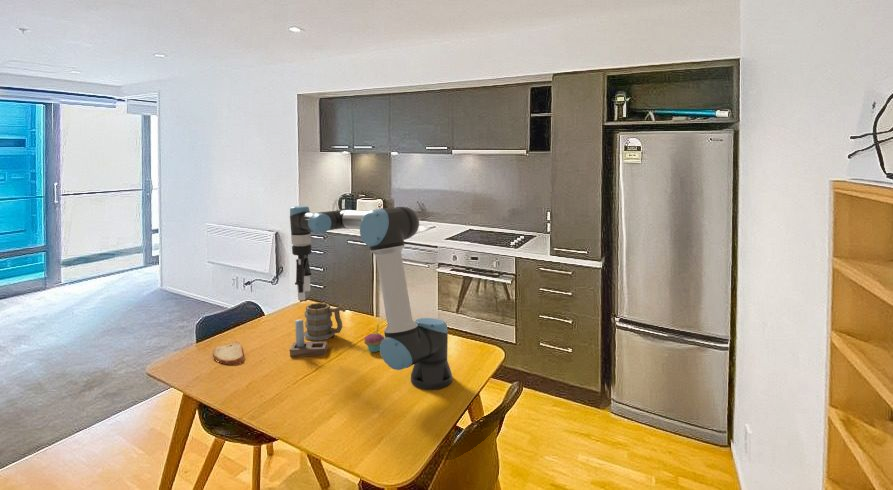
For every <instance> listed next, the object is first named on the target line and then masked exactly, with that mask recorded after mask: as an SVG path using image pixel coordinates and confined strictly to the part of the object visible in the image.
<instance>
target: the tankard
mask: <svg viewBox="0 0 893 490" xmlns="http://www.w3.org/2000/svg"><path fill="white" fill-rule="evenodd" d="M346 311H347V308H346V307H344V306H343V305H340V306H338V307H331V305H330V304H329V303H326V302H316V303H315V302H314V303H309V304H308V305H307V306H305V311H304V317H305V319H306V321H305V322H304V326H305V328H306V331H304V338H305V339H306V340H309V341H314V342H320V341H323V340H329V339H330V338H332V337H333V336H335V334H340V333H341V332H342V329H343V321H342V318H341V313H340V312H342V313H345V312H346ZM333 313H334V319H335V321H336V326H337V327H336V328H333V320H332V316H333Z"/></svg>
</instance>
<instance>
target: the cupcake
mask: <svg viewBox="0 0 893 490" xmlns="http://www.w3.org/2000/svg"><path fill="white" fill-rule="evenodd" d="M384 338H385V336H384V335H382V334H381V333H379V322H378V323H377V325H376V332H375V333H373V332H372V333H369V334H367V335H366V336H365V337H364V340H363V341H364V344H365V345H366V346H367V348H368V351H369V352H372V353H377V352H380V344H381V341H382V340H383V339H384Z"/></svg>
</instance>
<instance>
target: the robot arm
mask: <svg viewBox="0 0 893 490" xmlns="http://www.w3.org/2000/svg"><path fill="white" fill-rule="evenodd" d="M289 223H290V232H291V233H290V239H291V240H290V243H291V244H292V245H291V252H292V255H294V256H297V258H295V259H296V260H295V261H296V274H295V282H294V285H296V286H297V287H296V288H297V300H298V301H306V292H311V276H312V272H311V268H310V261H309V255H311V254H312V253H313V252H312V245H311V243H312V239H313V236H312V235H311V233H316V234H325V233H327V232H329V231H334V230H341V229H343V230H344V229H345V230H359V236H360V238H361V240H362V241H363V243H364V244H365V245H366V246H368V247H369V250H370V253H372V254H374V256H375V257H376V258H375V259H376V263H377V264H376V265H377V271H378V275H379V276H378V277H379V282H380V288H381V294H382V300H383V305H384V311H385V317H386V323H387V325H386V327H385V329H384V330H383V332H384V333H383V334H384V339H383V340H382V341H381V344H380V351H379V353H380V356H381V358H382V360H383V361H384V363H385V364H386V365H387V366H388V367H389V368H391V369H393V370H397V371H402V370H403V369H407V368H410V367H413V368H412V371H411V373H410V383H411V384H412V386H414V387H416V388H418V389H421V390H429V391H430V390H431V391H432V390H441V389H444V388H447V387H448V386H450V385H451V384H452V382H453V373H452V370H451V367H450V364H449V360H448V343H449V342H448V340H449V339H448V336H449V332H448V324H447V323H446V321H444V320H442V319H439V318H435V317H434V318H433V317H422V318H421V317H420V318H417V319H416V320H415V321H414V319H413V315H412V311H411V310H412V307H411V304H410V302H411V301H410V298H409V297H410V296H409V291H408V290H409V289H408V285H407V278H406V271H405V267H404V261H403V255H402V250H403V249H404V248H405V241H406V240H408V239H411V238H412V237H413V236H415V235H416V234H417V232H418V230H419V227H420V218H419V216H418V214H417V213H416V212H415V211H414V209H412V208H410V207H407V206H397V207H387V208H385V207H384V208H378V209H377V208H376V209H374V210H362V209H361V210H359V209H358V210H357V209H355V210H354V209H347V208H345V209H339V210H338V209H337V210H329V211H320V212H311V211H310V208H309V206H308V205H295V206H291V207H290V208H289Z"/></svg>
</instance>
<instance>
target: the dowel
mask: <svg viewBox="0 0 893 490" xmlns="http://www.w3.org/2000/svg"><path fill="white" fill-rule="evenodd" d="M294 323H295V324H294V325H295V343H296V348H305V347H304V342H305V336H304V332H305V330H304V329H305V328H304V319H300V318H299V319H295V320H294Z"/></svg>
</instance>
